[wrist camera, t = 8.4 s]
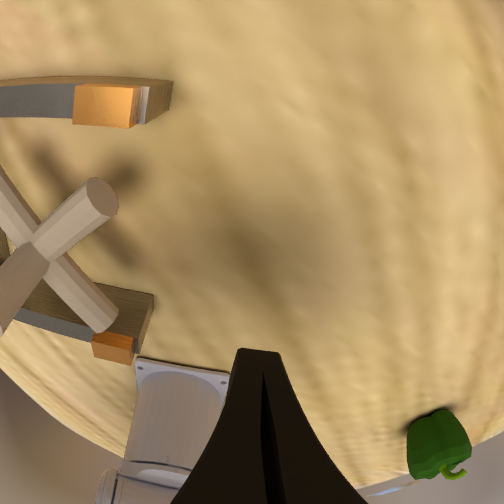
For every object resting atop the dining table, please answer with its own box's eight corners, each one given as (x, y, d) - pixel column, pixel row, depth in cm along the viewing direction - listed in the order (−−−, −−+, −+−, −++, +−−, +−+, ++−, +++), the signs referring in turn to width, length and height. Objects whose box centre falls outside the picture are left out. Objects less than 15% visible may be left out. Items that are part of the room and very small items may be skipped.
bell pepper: (400, 440, 36) (414, 500, 28) (396, 420, 32) (414, 491, 24) (454, 418, 34) (473, 476, 26) (458, 394, 30) (484, 461, 22)
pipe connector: (1, 186, 16) (-98, 273, 8) (92, 85, 14) (-56, 139, 5) (88, 292, 21) (29, 407, 13) (196, 229, 18) (150, 379, 10)
